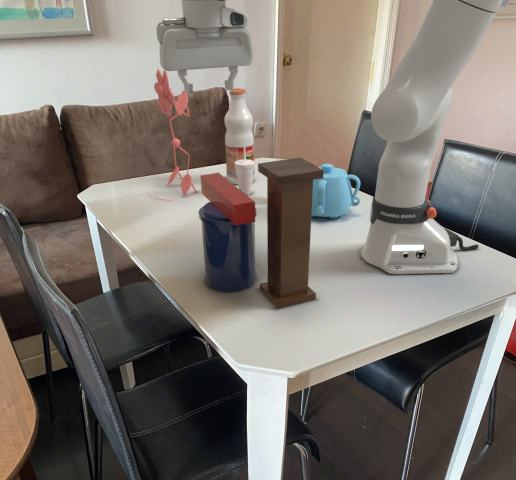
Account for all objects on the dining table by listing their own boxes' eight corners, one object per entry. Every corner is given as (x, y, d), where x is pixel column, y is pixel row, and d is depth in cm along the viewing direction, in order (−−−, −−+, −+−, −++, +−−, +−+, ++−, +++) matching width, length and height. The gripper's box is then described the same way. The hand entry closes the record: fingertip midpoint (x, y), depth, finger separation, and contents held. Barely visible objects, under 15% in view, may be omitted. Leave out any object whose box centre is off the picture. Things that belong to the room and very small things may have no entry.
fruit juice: (232, 175, 176) (228, 86, 159) (257, 177, 173) (256, 87, 157) (223, 184, 168) (218, 91, 152) (250, 186, 166) (247, 92, 150)
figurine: (179, 177, 175) (167, 62, 154) (209, 199, 156) (200, 72, 136) (136, 184, 169) (118, 66, 148) (162, 208, 150) (146, 77, 130)
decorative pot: (335, 199, 155) (338, 153, 147) (363, 217, 143) (368, 168, 135) (287, 207, 150) (288, 160, 142) (312, 226, 138) (314, 176, 130)
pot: (261, 269, 118) (260, 198, 108) (252, 295, 108) (250, 219, 98) (211, 266, 119) (206, 195, 109) (198, 290, 110) (191, 216, 100)
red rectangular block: (201, 193, 110) (200, 175, 108) (219, 190, 112) (218, 172, 110) (235, 225, 96) (234, 205, 93) (255, 221, 97) (255, 201, 95)
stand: (259, 289, 110) (257, 163, 94) (296, 281, 113) (300, 157, 97) (277, 309, 103) (278, 176, 87) (315, 299, 106) (323, 169, 90)
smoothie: (256, 190, 163) (255, 145, 155) (254, 196, 158) (253, 150, 150) (236, 189, 163) (235, 144, 155) (234, 196, 158) (232, 150, 150)
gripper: (159, 19, 98) (167, 97, 106) (255, 15, 104) (256, 89, 112) (151, 18, 102) (159, 93, 110) (243, 14, 109) (245, 85, 117)
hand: (209, 91), depth 111 cm, fingers open, 8 cm apart
